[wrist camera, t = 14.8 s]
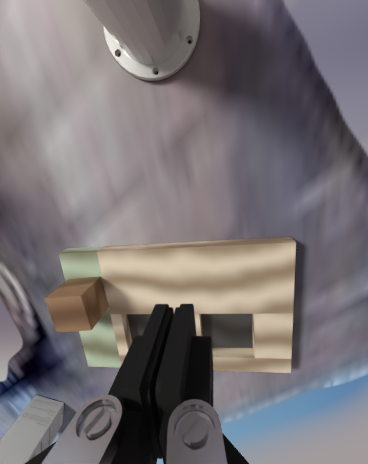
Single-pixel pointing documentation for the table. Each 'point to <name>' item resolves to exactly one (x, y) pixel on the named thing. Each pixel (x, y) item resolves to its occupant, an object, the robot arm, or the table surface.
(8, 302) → the table surface
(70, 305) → the walnut cube
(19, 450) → the supplement box
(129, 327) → the board
